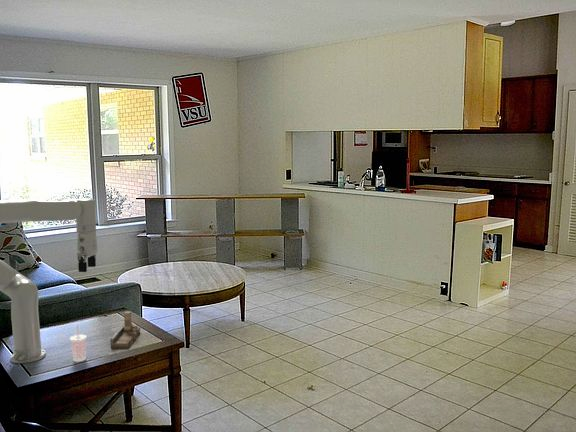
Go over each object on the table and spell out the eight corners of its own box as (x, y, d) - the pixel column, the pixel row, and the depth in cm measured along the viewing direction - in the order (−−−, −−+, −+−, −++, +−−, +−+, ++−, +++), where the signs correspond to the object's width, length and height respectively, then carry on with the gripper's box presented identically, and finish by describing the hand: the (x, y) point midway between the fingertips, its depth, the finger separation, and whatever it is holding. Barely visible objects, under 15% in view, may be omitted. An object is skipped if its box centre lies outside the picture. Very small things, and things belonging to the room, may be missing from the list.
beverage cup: (67, 360, 206) (65, 325, 204) (81, 354, 212) (78, 321, 210) (78, 363, 203) (75, 328, 201) (91, 358, 209) (89, 323, 206)
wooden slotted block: (127, 347, 218) (127, 338, 218) (110, 348, 218) (110, 338, 218) (139, 332, 236) (139, 323, 236) (124, 332, 236) (123, 323, 236)
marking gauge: (135, 331, 231) (134, 313, 230) (124, 331, 231) (123, 313, 230) (138, 328, 235) (137, 310, 234) (126, 328, 235) (125, 310, 234)
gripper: (87, 231, 210) (88, 274, 213) (102, 225, 228) (103, 264, 230) (68, 231, 210) (69, 273, 213) (85, 225, 228) (86, 264, 230)
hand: (87, 269), depth 221 cm, fingers open, 9 cm apart
